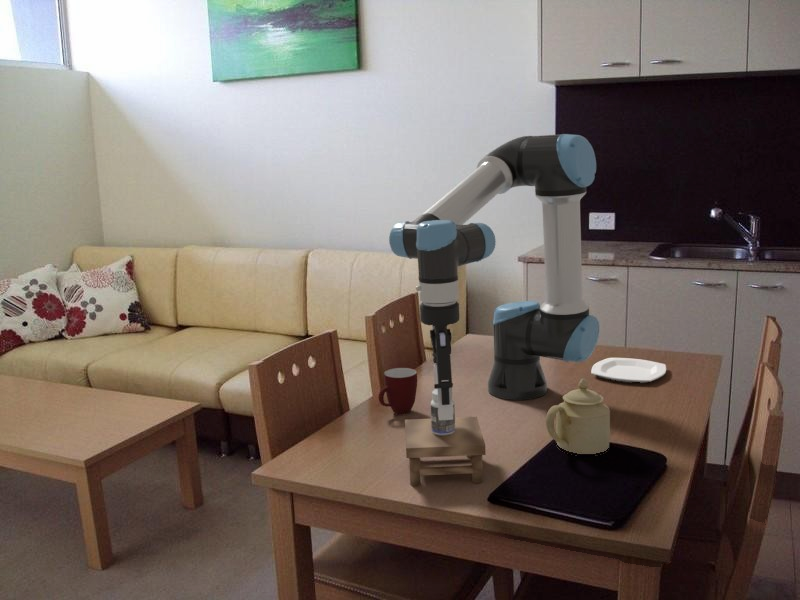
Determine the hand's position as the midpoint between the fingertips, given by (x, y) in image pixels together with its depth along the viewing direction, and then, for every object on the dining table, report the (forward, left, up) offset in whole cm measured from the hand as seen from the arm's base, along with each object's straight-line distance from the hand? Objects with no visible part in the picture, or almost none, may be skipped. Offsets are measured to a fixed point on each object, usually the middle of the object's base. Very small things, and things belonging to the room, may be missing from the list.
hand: (443, 406), depth 151 cm
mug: (+9, -33, -13) cm, 37 cm away
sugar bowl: (-29, -7, -13) cm, 32 cm away
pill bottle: (0, 0, -5) cm, 5 cm away
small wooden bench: (0, 0, -13) cm, 13 cm away
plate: (-54, -56, -14) cm, 79 cm away
